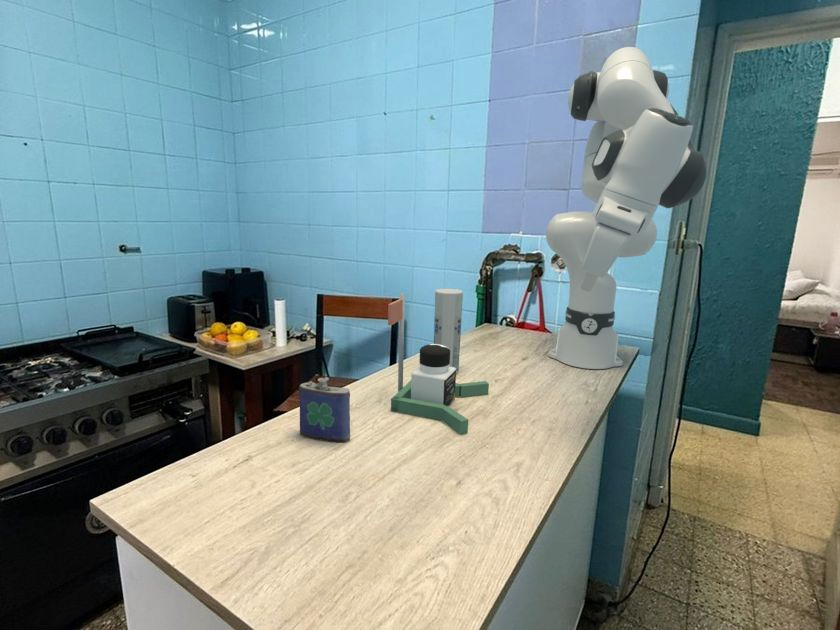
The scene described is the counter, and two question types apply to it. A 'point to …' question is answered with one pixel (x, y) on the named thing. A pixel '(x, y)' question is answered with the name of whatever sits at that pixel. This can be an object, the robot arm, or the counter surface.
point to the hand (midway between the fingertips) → (585, 289)
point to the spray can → (448, 322)
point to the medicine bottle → (434, 376)
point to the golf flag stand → (422, 408)
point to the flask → (324, 411)
